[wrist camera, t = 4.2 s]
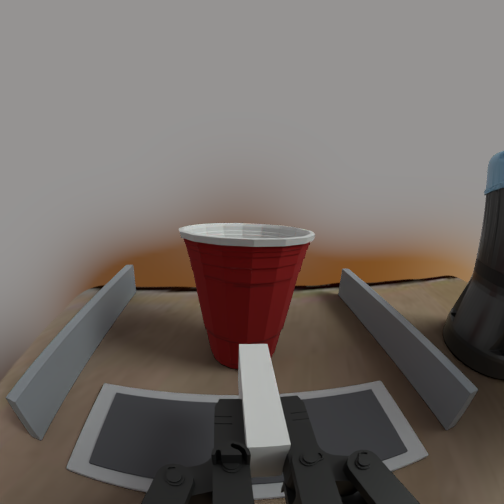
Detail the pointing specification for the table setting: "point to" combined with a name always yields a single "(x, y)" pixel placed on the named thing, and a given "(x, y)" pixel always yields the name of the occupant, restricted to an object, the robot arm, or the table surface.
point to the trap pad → (202, 432)
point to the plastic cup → (244, 281)
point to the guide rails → (123, 288)
